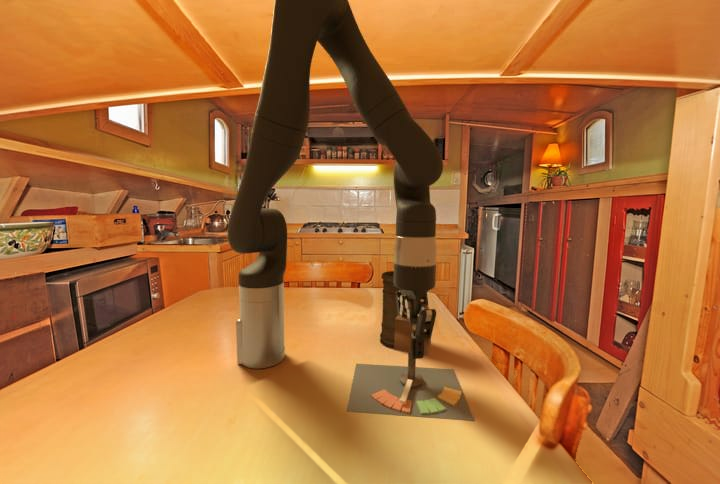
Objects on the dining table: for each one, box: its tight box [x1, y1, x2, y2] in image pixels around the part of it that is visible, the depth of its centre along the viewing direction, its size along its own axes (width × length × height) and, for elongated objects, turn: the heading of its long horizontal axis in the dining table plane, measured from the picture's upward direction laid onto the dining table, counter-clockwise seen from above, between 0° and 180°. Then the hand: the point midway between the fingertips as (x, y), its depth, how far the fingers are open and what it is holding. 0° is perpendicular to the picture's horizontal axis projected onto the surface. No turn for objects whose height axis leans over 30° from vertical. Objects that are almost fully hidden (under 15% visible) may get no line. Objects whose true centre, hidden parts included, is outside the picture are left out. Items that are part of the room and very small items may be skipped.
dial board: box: [346, 363, 475, 422], centre depth 55 cm, size 20×15×2 cm
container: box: [379, 270, 402, 350], centre depth 74 cm, size 9×9×18 cm
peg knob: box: [393, 315, 432, 404], centre depth 54 cm, size 10×6×12 cm, turn 160°
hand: (412, 351), depth 56 cm, fingers open, 4 cm apart
